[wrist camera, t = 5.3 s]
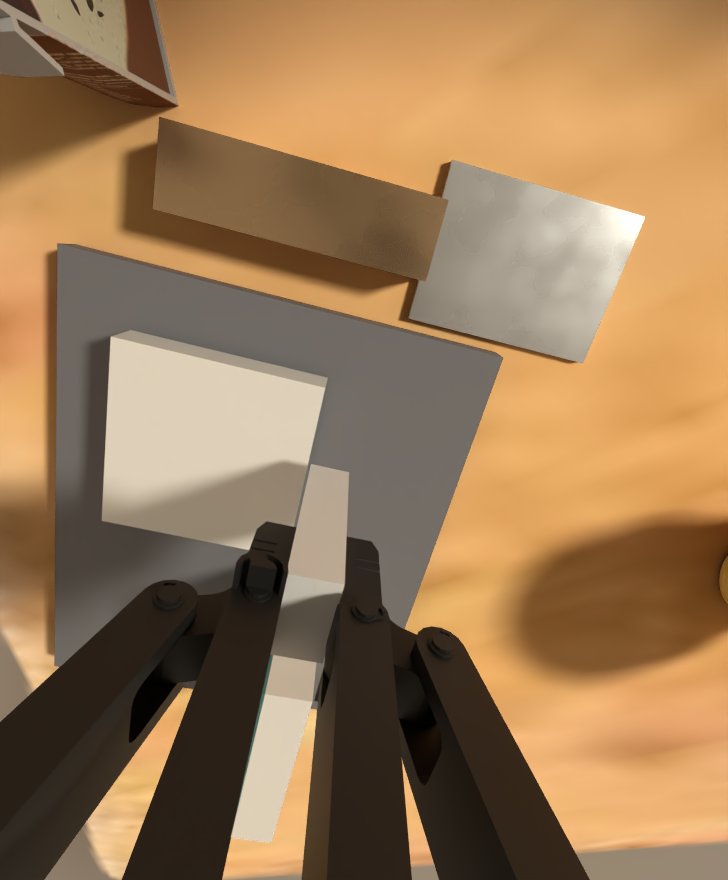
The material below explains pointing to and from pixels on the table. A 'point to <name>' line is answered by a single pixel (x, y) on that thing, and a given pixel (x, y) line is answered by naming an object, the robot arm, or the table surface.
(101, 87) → the food container
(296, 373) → the tile
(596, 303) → the turner
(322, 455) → the mat
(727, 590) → the plant pot
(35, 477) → the table surface
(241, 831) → the tile
